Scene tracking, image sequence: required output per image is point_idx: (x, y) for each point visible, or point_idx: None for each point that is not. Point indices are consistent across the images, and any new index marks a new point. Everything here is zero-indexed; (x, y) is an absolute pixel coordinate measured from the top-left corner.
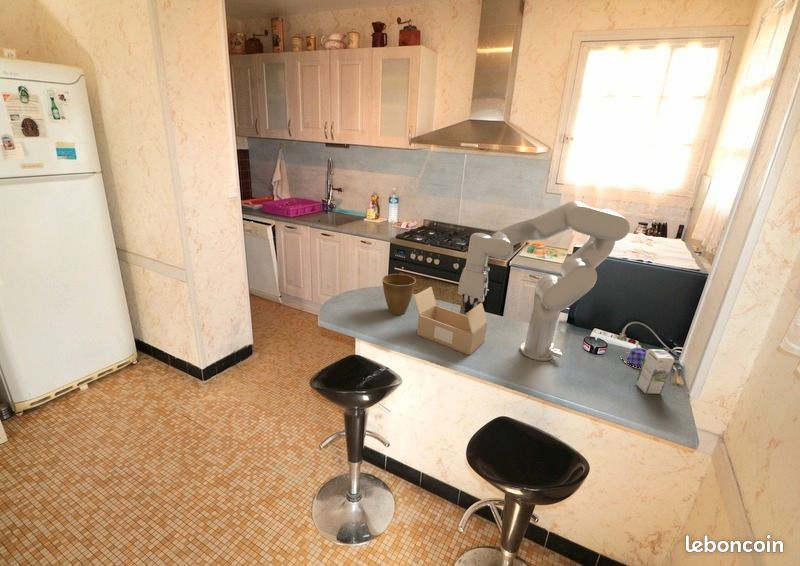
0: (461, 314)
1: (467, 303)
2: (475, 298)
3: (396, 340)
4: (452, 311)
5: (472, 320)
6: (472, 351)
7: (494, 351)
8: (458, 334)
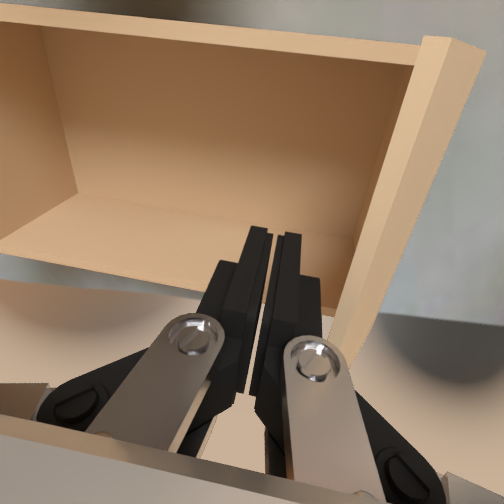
0: (166, 31)
1: (235, 395)
2: (334, 448)
3: (65, 272)
4: (66, 24)
5: (354, 351)
6: None
7: (498, 127)
8: None
